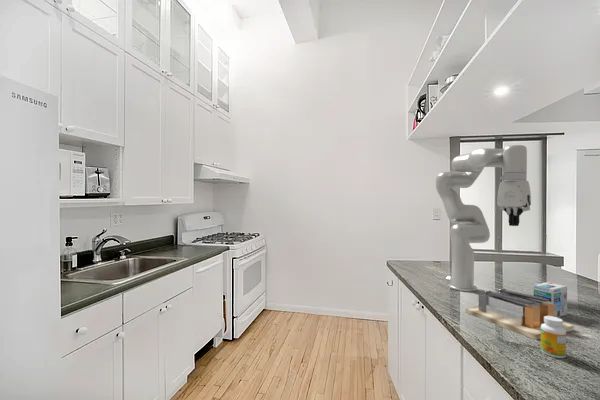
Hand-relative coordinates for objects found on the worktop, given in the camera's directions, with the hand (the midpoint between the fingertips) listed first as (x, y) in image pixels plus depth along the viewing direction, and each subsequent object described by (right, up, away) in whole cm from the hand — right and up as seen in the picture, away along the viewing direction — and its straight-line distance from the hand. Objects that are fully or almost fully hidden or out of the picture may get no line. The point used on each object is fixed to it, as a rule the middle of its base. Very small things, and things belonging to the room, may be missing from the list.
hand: (513, 225), depth 115 cm
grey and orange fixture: (-6, -31, -9) cm, 33 cm away
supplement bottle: (-12, -33, -32) cm, 48 cm away
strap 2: (-2, -25, -7) cm, 26 cm away
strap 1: (-9, -25, -10) cm, 28 cm away
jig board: (-6, -33, -9) cm, 35 cm away
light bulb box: (+13, -34, -1) cm, 36 cm away
